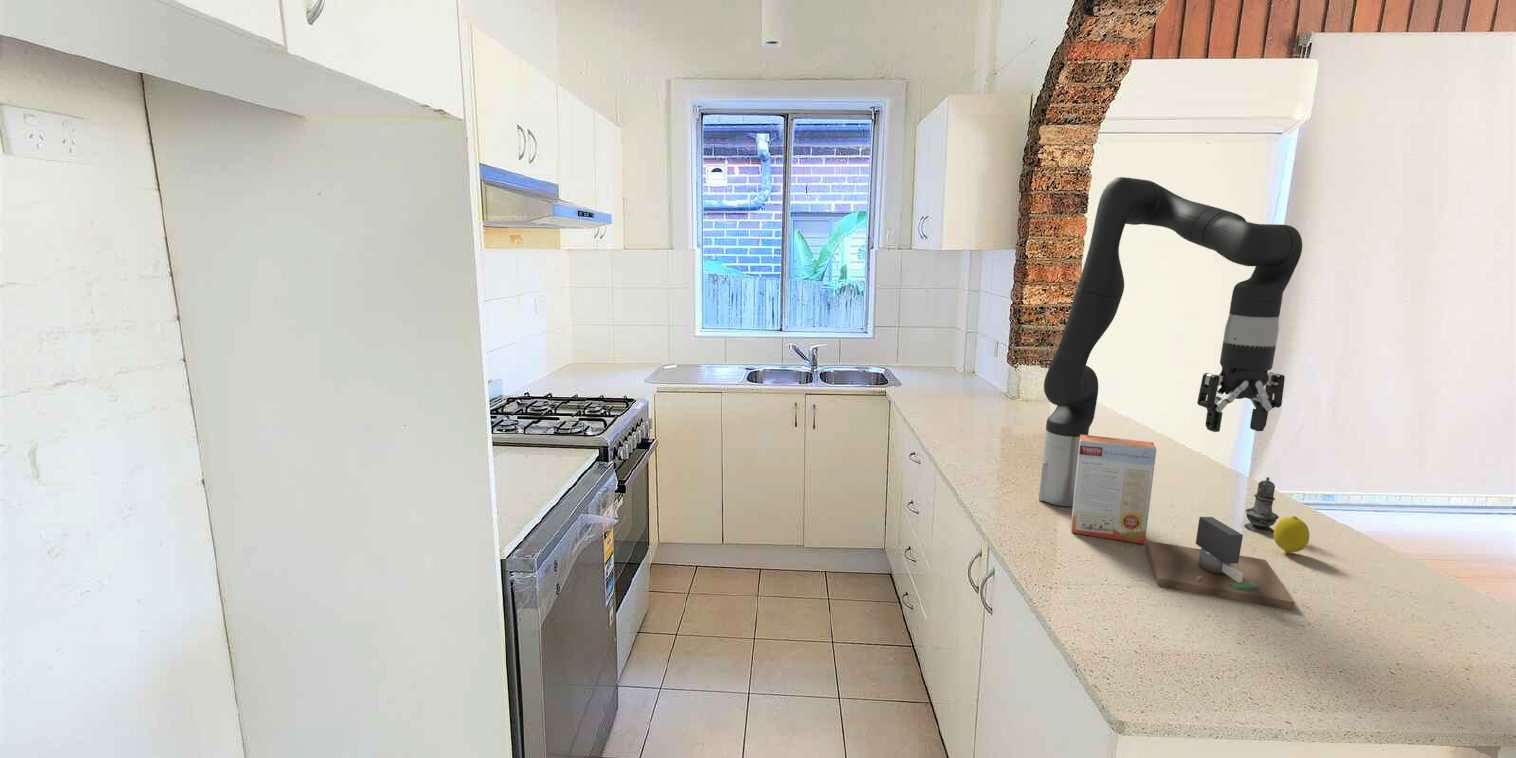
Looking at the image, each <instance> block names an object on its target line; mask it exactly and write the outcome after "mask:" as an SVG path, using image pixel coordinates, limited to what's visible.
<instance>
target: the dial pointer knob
mask: <svg viewBox="0 0 1516 758" xmlns="http://www.w3.org/2000/svg"><path fill="white" fill-rule="evenodd" d="M1243 537H1244V535H1243V534H1242V533H1240V532H1239V531H1237V530H1235V529H1233V528H1232V527H1230V526H1228V525H1227V524H1225V523H1223V522H1222V521H1220V520H1218V519H1217V518H1215V517H1213V516H1199V519H1198V525H1197V533H1196V537H1195V538H1196V540H1195V544H1196V545H1197V546H1198V547H1200V548H1199V549H1200V555H1199V561H1198V565H1199V566H1200V567H1201V568H1203V569H1205V570H1207V571H1210V572H1214V573H1220V574H1227V575H1228V576H1230V577H1231V578H1233V579H1234V580H1236V581H1237V582H1242V578H1243V573H1241V572H1240V571H1238V570H1237V569H1235V568H1234V567H1232V566H1231V564H1232V563H1238V562H1239V556H1241V549H1242V544H1243Z"/></svg>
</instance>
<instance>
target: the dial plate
mask: <svg viewBox="0 0 1516 758" xmlns="http://www.w3.org/2000/svg"><path fill="white" fill-rule="evenodd" d="M1145 544H1146V545H1145V548H1146V553H1147V557H1148V558H1149V563H1150V565H1151V568H1152V572H1153V575H1154V578H1155V582H1156V585H1157V587H1162V588H1169V589H1174V590H1178V591H1179V590H1180V591H1184V592H1190V593H1195V594H1200V595H1201V594H1202V595H1207V596H1213V597H1218V598H1224V599H1228V600H1234V601H1238V602H1239V601H1240V602H1245V603H1251V604H1256V605H1262V606H1268V607H1273V608H1278V609H1283V610H1289V611H1294V609H1295V608H1294V607H1295V601H1294V599H1293V597H1292V596H1291V595H1290V593H1289V592H1288V590H1287V588H1286V587H1285V586H1284V584H1283V583H1282V582H1281V579H1280V578H1279V577H1278V576H1277V574H1276V573H1275V571H1274V570H1273V569H1272V567H1271V566H1270V564H1269V562H1268V561H1267V559H1265V558H1264V559H1263V558H1257V557H1251V556H1244V555H1240V556H1239V562H1238V563H1232V564H1231V566H1232V567H1234V568H1235V569H1237V570H1238V571H1240V572H1241V573H1243V578H1242V582H1237V581H1236V580H1234V579H1233V578H1231V577H1230V576H1228V575H1227V574H1220V573H1214V572H1210V571H1207V570H1205V569H1203V568H1201V567H1200V566H1199V565H1198V561H1199V555H1200V549H1201V548H1195V547H1188V546H1183V545H1177V544H1171V543H1164V542H1156V541H1151V540H1146V542H1145Z"/></svg>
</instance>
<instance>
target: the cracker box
mask: <svg viewBox="0 0 1516 758" xmlns="http://www.w3.org/2000/svg"><path fill="white" fill-rule="evenodd" d="M1156 456H1157V447H1156V445H1155V443H1154V442H1153V441H1147V440H1136V439H1127V438H1118V437H1109V436H1099V435H1090V434H1088V435H1080V441H1079V451H1078V461H1077V470H1076V480H1075V490H1074V500H1073V506H1072V511H1071V512H1072V513H1071V525H1070V527H1071V530H1070V531H1071V533H1073V534H1078V535H1085V536H1091V537H1098V538H1103V539H1110V540H1116V541H1123V542H1129V543H1134V544H1140V545H1145V544H1146V537H1147V529H1148V520H1149V512H1150V507H1151V506H1150V504H1151V497H1152V489H1153V480H1154V471H1155V465H1156V463H1155V462H1156Z"/></svg>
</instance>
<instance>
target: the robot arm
mask: <svg viewBox="0 0 1516 758" xmlns="http://www.w3.org/2000/svg"><path fill="white" fill-rule="evenodd" d="M1101 193H1102V194H1101V196H1100V198H1099V202H1098V204H1097V210H1096V214H1095V219H1094V223H1093V224H1094V225H1093V229H1092V233H1091V238H1090V242H1089V243H1090V244H1089V246H1088V251H1087V255H1086V257H1085V261H1084V265H1083V268H1082V272H1081V275H1080V278H1079V280H1078V283H1077V287H1076V289H1075V292H1074V294H1073V295H1074V296H1073V299H1072V301H1071V306H1070V310H1069V313H1068V317H1067V319H1066V323H1065V325H1064V328H1063V332H1062V335H1061V338H1060V342H1059V345H1058V346H1057V349H1056V351H1055V354H1054V357H1053V358H1052V360H1051V363H1050V365H1049V367H1048V369H1047V371H1046V374H1045V378H1044V382H1043V391H1044V395H1045V396H1046V398H1047V400H1048V401H1049V403H1051V404H1053V405H1055V406H1056V408H1055V410H1054V411H1053V412H1052V414H1050V415H1049V416H1048V417H1047V419H1046V424H1045V425H1046V427H1045V436H1044V446H1043V456H1042V463H1041V474H1040V484H1039V493H1038V494H1039V495H1038V501H1040V502H1045V503H1048V504H1050V505H1054V506H1060V507H1073V500H1074V490H1075V480H1076V470H1077V461H1078V451H1079V441H1080V435H1089V432H1090V431H1089V430H1090V427H1091V425H1092V424H1093V422H1094V419H1095V414H1096V408H1097V404H1098V403H1097V402H1098V396H1099V395H1098V394H1099V380H1098V376H1097V373H1096V372H1095V371H1094V369H1092V367H1090V366H1088V365H1087V363H1088V360H1089V357H1090V355H1091V352H1092V351H1093V349H1094V347H1095V346H1096V345H1097V343H1098V342H1099V341H1100V339H1101V338H1102V336H1103V335H1104V334H1105V332H1106V331H1107V330H1108V329H1109V327H1110V326H1111V323H1112V322H1113V321H1114V318H1115V317H1116V315H1117V312H1118V310H1119V306H1120V304H1121V300H1122V297H1123V294H1124V291H1125V290H1124V289H1125V278H1124V273H1123V268H1122V264H1121V258H1120V253H1119V252H1120V245H1121V244H1120V243H1121V239H1122V235H1123V232H1124V229H1125V226H1126V225H1133V226H1135V225H1137V226H1139V225H1146V226H1147V225H1148V226H1157V227H1162V228H1165V229H1168V230H1172V231H1173V232H1175V233H1176V235H1178V236H1180V237H1181V239H1184V240H1185V241H1188V242H1190V243H1193V244H1195V245H1198V246H1200V247H1203V248H1206V249H1208V250H1211V251H1215V252H1216V253H1217V254H1219V256H1222V257H1223V258H1225V259H1226V260H1227V261H1230V262H1232V263H1235V264H1236V265H1237V264H1238V265H1241V266H1245V267H1254V270H1253V272H1252V274H1251V276H1250V277H1249V278H1248V279H1245V280H1242V281H1239V282H1237V283H1236V284H1235V286H1234V287H1233V290H1232V294H1231V298H1230V306H1229V312H1228V313H1229V314H1228V317H1227V320H1226V324H1225V328H1224V334H1223V340H1222V348H1221V353H1220V360H1219V365H1220V367H1221V371H1220V373H1219V374H1213V373H1209V372H1204V373H1203V374H1202V379H1201V383H1200V388H1199V391H1198V392H1199V393H1198V397H1197V402H1196V403H1197V405H1198V406H1200V407H1203V408H1205V409H1206V412H1207V413H1206V417H1205V418H1206V419H1205V427H1206V429H1207V430H1208V431H1210V432H1213V433H1218V432H1220V431H1221V425H1222V424H1221V423H1222V419H1223V412H1222V411H1223V410H1224V409H1225V408H1226V407H1227V405H1228V404H1232V403H1233V402H1234V401H1235V399H1236V400H1242V399H1248V400H1250V401H1251V403H1252V405H1253V406H1254V408H1253V409H1252V413H1251V418H1250V423H1249V428H1250V429H1251V430H1253V431H1255V432H1263V431H1264V430H1265V428H1266V426H1267V422H1268V417H1269V416H1268V415H1269V412H1270V411H1272V409H1274V408H1281V407H1282V403H1283V396H1284V395H1283V394H1284V389H1285V388H1284V387H1285V379H1286V378H1285V377H1286V376H1285V375H1284V374H1280V373H1276V372H1271V371H1270V370H1272V369H1273V366H1274V359H1275V353H1276V348H1277V341H1278V336H1279V331H1280V330H1279V329H1280V324H1279V323H1280V314H1281V307H1282V304H1283V295H1284V294H1283V293H1284V291H1285V290H1286V288H1287V286H1288V284H1289V283H1290V280H1291V279H1292V276H1293V275H1294V272H1295V270H1296V267H1297V265H1298V264H1299V261H1300V259H1301V256H1302V253H1303V240H1302V236H1301V233H1300V232H1299V231H1298V229H1296V228H1295V227H1294V226H1291V225H1288V224H1277V223H1276V224H1271V223H1270V224H1269V223H1268V224H1267V223H1266V224H1264V223H1256V222H1255V223H1254V222H1249V221H1247V220H1246V218H1245V217H1243V216H1242V215H1240V214H1238V213H1235V212H1234V211H1233V212H1232V211H1230V210H1226V209H1222V208H1219V207H1215V206H1212V205H1207V204H1204V203H1200V202H1196V201H1192V200H1189V199H1187V198H1184V197H1182V196H1179V195H1178V194H1175V193H1174V192H1173V191H1170V190H1169V189H1168V188H1165V187H1163V186H1161V185H1160V184H1158V183H1156V182H1153V181H1152V180H1147V179H1139V178H1133V177H1126V176H1125V177H1123V176H1119V177H1116V178H1113V179H1112V180H1111V181H1109V182H1108V183H1107V184H1106V186H1105V187H1104V188H1103V191H1102V192H1101ZM1268 371H1270V372H1268ZM1264 387H1265V388H1264ZM1224 393H1225V394H1224Z"/></svg>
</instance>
